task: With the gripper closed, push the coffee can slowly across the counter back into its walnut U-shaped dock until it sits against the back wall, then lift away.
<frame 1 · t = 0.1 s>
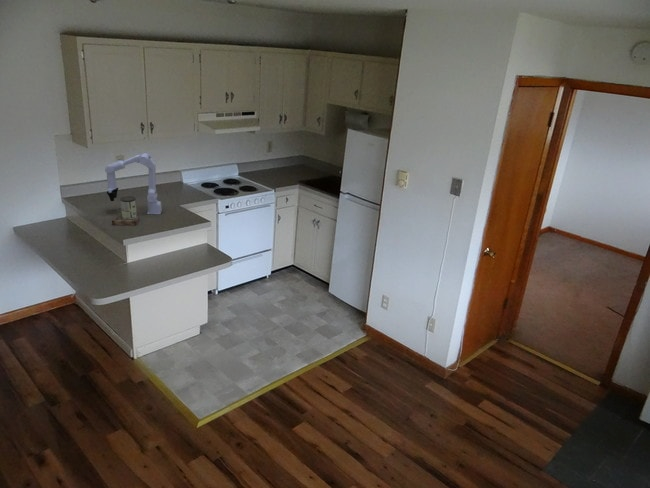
hand: (113, 199, 362), 10 cm above the countertop, tool pointing down, fingers open, 7 cm apart
coffee can: (129, 217, 359), on the countertop
can dock: (126, 222, 349), on the countertop
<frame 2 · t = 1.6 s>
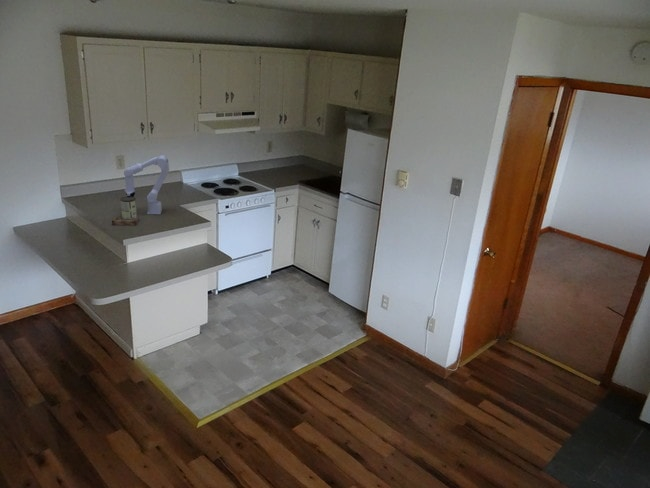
hand: (131, 202, 365), 8 cm above the countertop, tool pointing down, fingers closed
nothing on the countertop moved.
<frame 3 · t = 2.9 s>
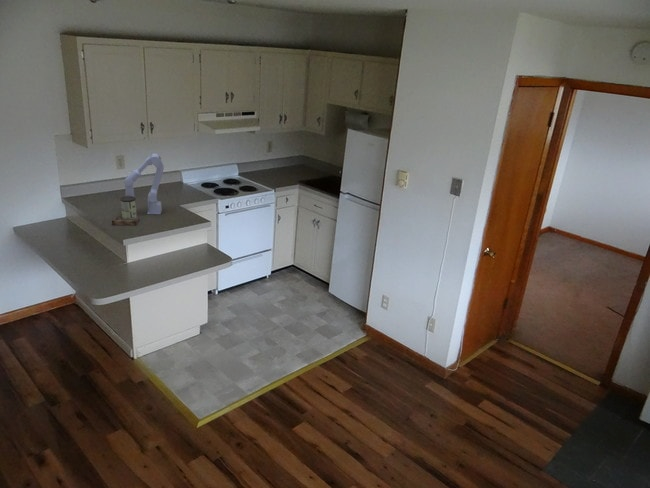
hand: (131, 211, 365), 1 cm above the countertop, tool pointing down, fingers closed
coffee can: (129, 217, 359), on the countertop, touching gripper
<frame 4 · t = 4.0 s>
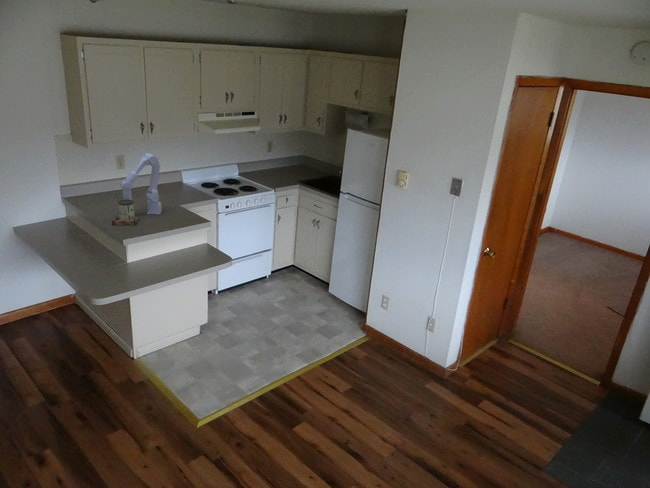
hand: (129, 215, 358), 1 cm above the countertop, tool pointing down, fingers closed
coffee can: (127, 220, 352), on the countertop, touching gripper
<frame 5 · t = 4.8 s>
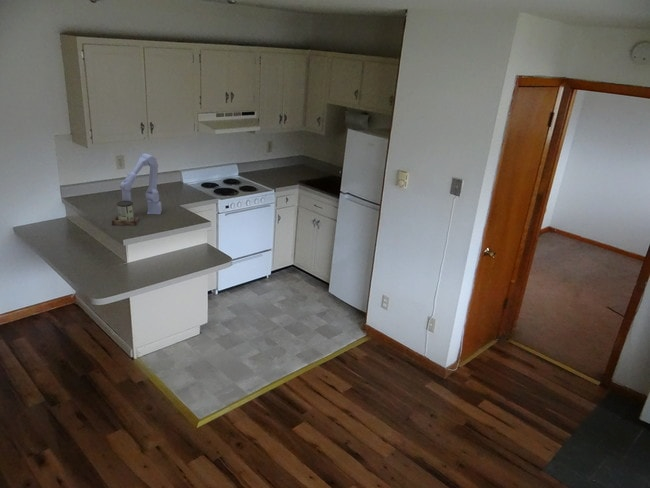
hand: (128, 216, 355), 1 cm above the countertop, tool pointing down, fingers closed
coffee can: (126, 222, 349), on the countertop, touching gripper
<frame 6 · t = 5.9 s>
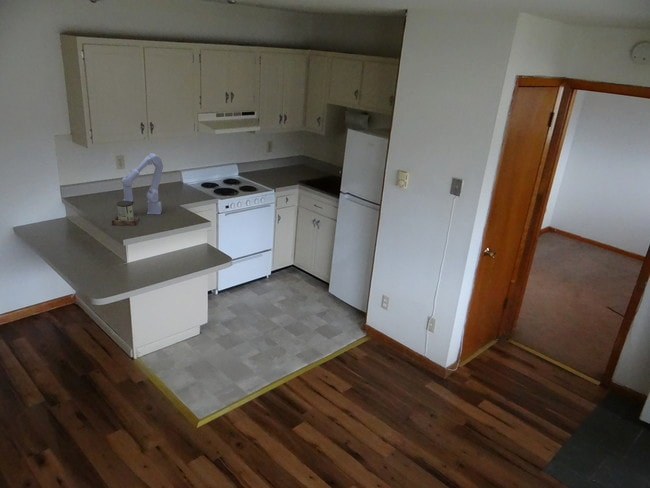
hand: (130, 211, 359), 3 cm above the countertop, tool pointing down, fingers closed
coffee can: (126, 222, 349), on the countertop
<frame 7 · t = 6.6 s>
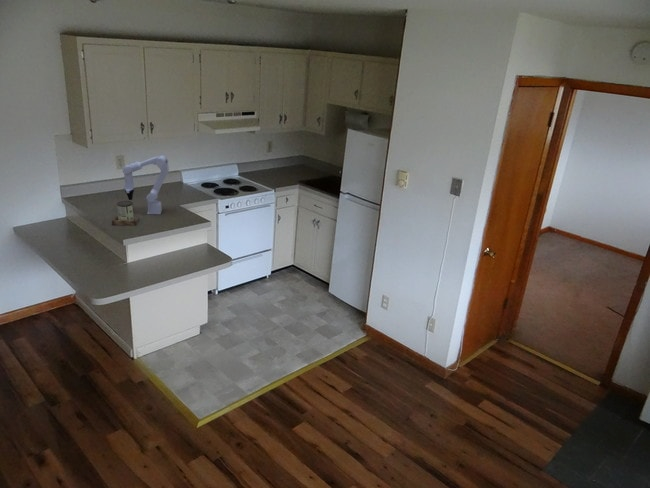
hand: (130, 199, 365), 9 cm above the countertop, tool pointing down, fingers closed
nothing on the countertop moved.
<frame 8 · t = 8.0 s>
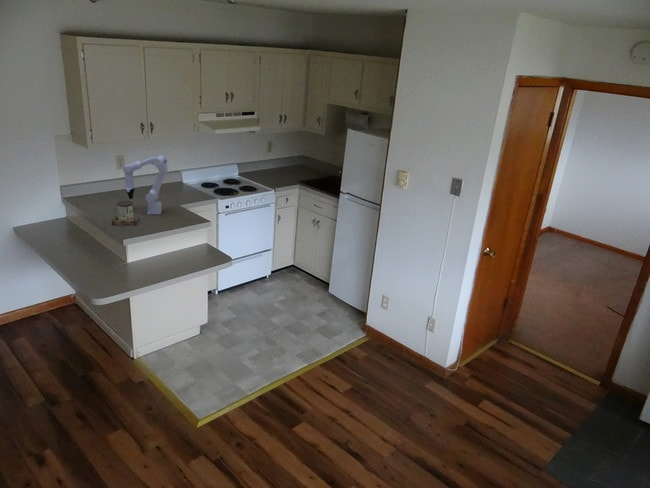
hand: (131, 198, 368), 9 cm above the countertop, tool pointing down, fingers closed
nothing on the countertop moved.
at the end: coffee can 1.8 cm from the target spot on the can dock, point 0.0 cm above the can dock's base; coffee can tilted 0° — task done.
